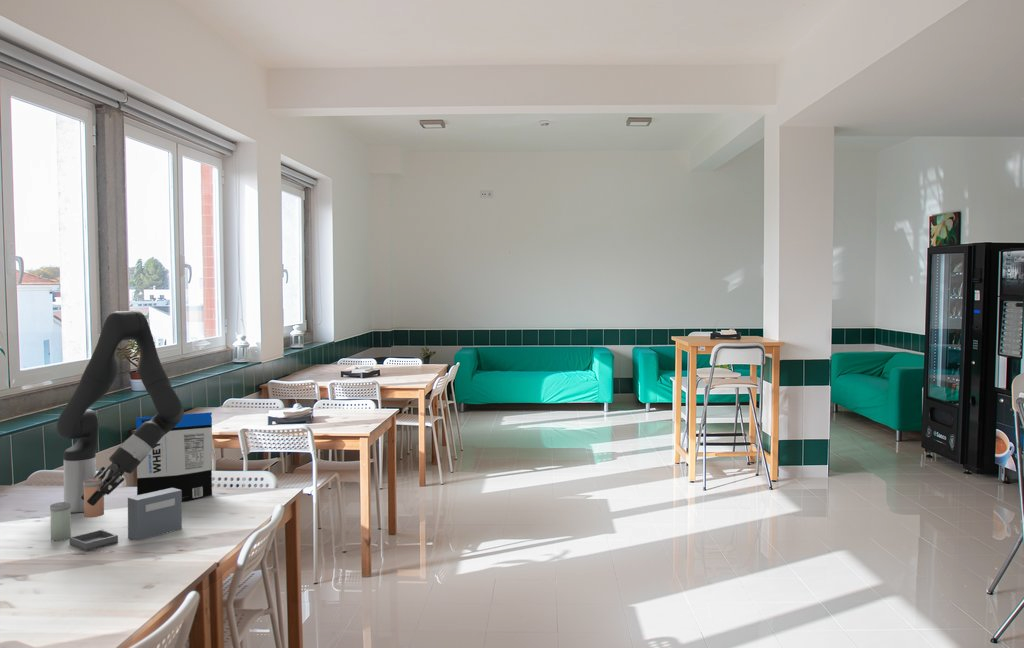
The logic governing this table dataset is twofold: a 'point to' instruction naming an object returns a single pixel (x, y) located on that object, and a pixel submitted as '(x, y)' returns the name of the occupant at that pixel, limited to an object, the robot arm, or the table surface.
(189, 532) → the table surface
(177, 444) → the protein powder
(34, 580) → the table surface
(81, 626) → the table surface
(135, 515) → the dark grey unit
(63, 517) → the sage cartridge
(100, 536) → the charcoal tray
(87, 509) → the cylinder
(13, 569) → the table surface
